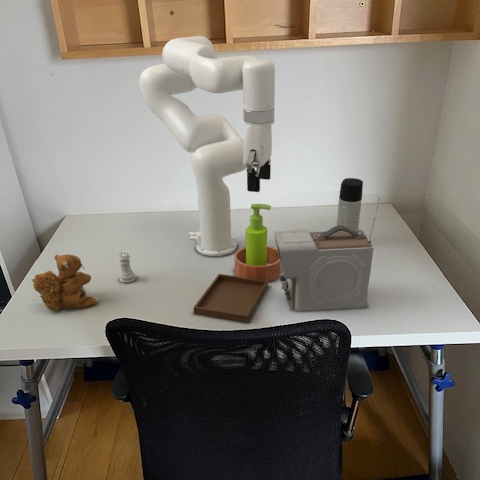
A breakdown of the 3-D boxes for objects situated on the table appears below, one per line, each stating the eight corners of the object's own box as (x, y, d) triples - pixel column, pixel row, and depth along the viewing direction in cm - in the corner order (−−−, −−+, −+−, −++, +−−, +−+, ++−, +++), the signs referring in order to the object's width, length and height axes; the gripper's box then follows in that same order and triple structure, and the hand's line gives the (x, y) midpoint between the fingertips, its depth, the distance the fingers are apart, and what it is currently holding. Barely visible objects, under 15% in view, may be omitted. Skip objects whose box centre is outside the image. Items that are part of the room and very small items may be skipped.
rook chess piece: (122, 284, 149) (118, 259, 144) (117, 278, 152) (113, 252, 147) (137, 281, 150) (134, 255, 146) (132, 274, 154) (128, 249, 149)
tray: (194, 313, 136) (193, 307, 134) (219, 279, 150) (218, 273, 149) (247, 322, 132) (247, 316, 130) (267, 287, 146) (267, 280, 145)
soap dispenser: (268, 277, 151) (269, 209, 139) (244, 275, 152) (243, 208, 141) (271, 267, 155) (272, 201, 144) (248, 265, 157) (247, 200, 145)
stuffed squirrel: (100, 303, 141) (91, 258, 133) (46, 320, 134) (34, 274, 127) (87, 287, 148) (78, 244, 140) (35, 303, 141) (23, 258, 134)
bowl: (228, 279, 150) (228, 263, 147) (243, 258, 161) (243, 242, 158) (274, 285, 146) (275, 269, 144) (286, 263, 157) (287, 248, 154)
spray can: (359, 241, 169) (366, 179, 158) (353, 249, 164) (360, 186, 153) (338, 237, 171) (344, 176, 160) (332, 246, 166) (337, 183, 155)
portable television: (272, 291, 144) (274, 182, 127) (359, 286, 145) (372, 178, 129) (278, 315, 134) (281, 201, 117) (371, 310, 135) (387, 196, 119)
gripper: (254, 108, 138) (255, 173, 147) (232, 124, 124) (234, 195, 133) (282, 109, 136) (281, 175, 145) (263, 125, 122) (263, 197, 131)
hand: (259, 185), depth 139 cm, fingers open, 9 cm apart
